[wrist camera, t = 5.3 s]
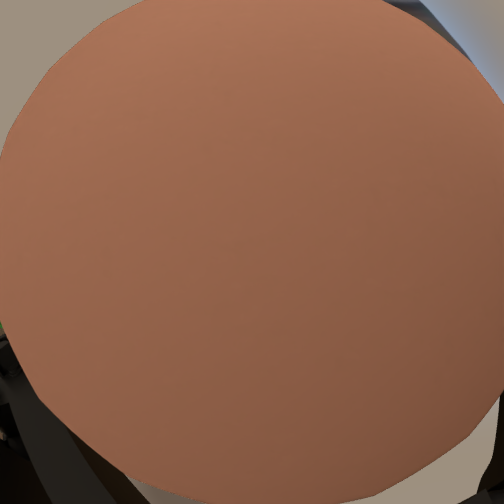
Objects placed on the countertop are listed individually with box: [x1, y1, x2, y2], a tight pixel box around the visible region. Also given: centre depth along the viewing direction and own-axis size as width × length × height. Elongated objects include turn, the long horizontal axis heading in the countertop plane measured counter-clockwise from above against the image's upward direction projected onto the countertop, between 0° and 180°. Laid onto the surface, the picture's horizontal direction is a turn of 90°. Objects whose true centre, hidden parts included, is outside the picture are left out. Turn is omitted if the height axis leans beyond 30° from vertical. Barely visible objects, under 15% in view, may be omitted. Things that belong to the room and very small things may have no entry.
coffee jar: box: [0, 0, 504, 504], centre depth 13 cm, size 11×11×18 cm
